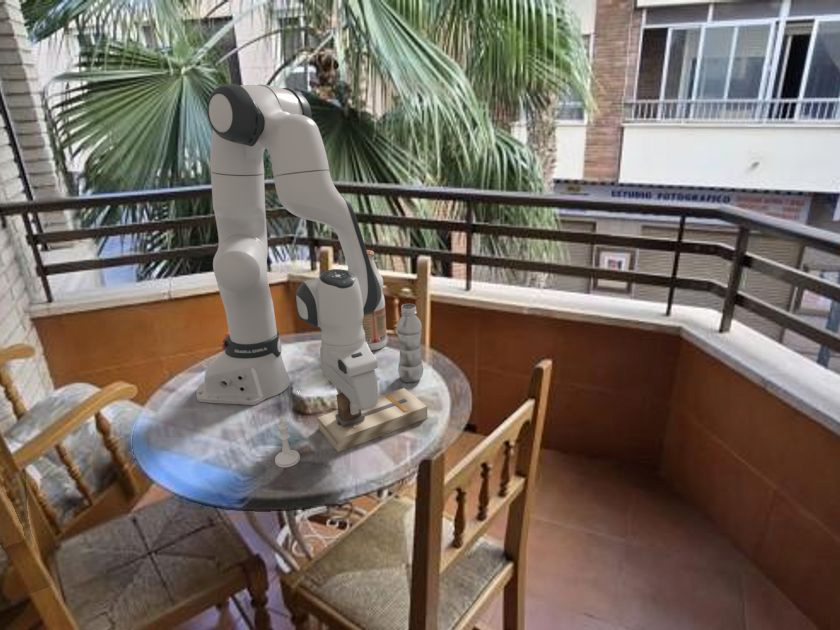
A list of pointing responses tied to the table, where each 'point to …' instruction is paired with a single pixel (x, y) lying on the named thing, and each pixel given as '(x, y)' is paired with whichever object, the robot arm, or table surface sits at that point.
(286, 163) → the robot arm
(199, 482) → the table surface
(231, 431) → the table surface
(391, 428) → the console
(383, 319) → the fruit juice
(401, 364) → the plastic bottle
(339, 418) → the slider
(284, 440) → the chess piece
